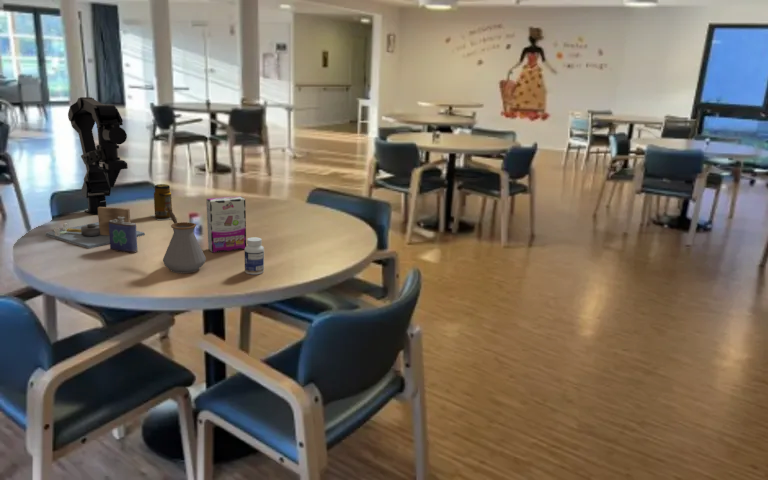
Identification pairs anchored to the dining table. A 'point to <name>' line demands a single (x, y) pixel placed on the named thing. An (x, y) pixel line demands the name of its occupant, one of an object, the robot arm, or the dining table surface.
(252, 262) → the pill bottle
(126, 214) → the brown piece
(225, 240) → the candy bar box
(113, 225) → the flask
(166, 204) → the condiment
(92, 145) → the robot arm
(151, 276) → the dining table surface
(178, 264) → the coffee pot
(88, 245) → the stand
